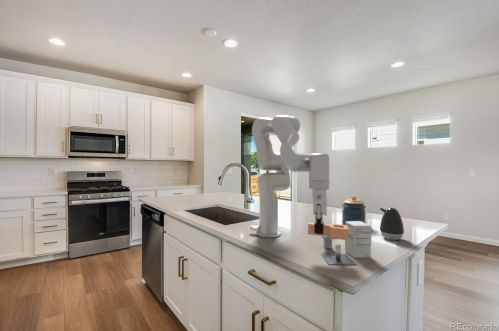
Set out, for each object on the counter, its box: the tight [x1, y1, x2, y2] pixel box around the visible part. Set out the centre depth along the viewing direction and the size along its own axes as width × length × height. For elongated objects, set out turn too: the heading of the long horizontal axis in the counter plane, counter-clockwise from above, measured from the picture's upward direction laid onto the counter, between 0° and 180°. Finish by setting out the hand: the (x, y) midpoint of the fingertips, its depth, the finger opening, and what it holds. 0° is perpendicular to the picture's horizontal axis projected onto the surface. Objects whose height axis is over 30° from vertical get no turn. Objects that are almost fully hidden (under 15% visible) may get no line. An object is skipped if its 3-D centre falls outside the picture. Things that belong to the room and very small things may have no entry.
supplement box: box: [344, 221, 372, 258], centre depth 99 cm, size 7×7×13 cm
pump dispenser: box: [379, 207, 405, 241], centre depth 120 cm, size 10×10×15 cm
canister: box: [341, 195, 367, 225], centre depth 144 cm, size 13×13×18 cm
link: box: [307, 221, 349, 241], centre depth 94 cm, size 14×6×4 cm, turn 73°
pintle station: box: [320, 243, 357, 266], centre depth 93 cm, size 10×10×6 cm
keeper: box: [321, 236, 334, 249], centre depth 105 cm, size 6×6×6 cm
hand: (319, 231), depth 95 cm, fingers closed on link, 3 cm apart
